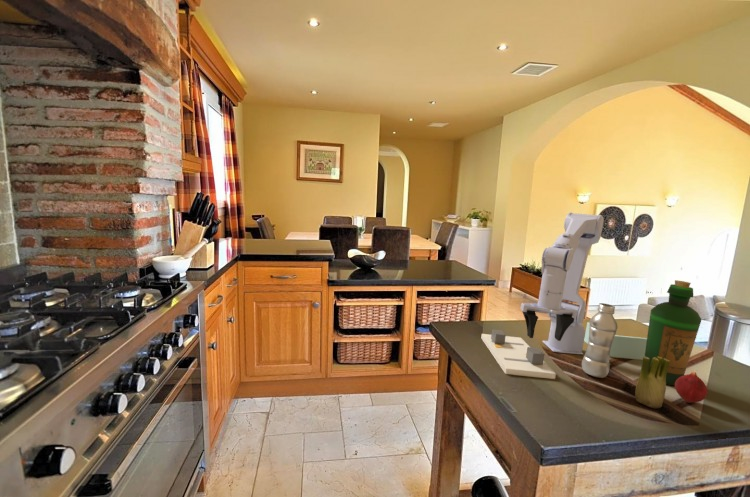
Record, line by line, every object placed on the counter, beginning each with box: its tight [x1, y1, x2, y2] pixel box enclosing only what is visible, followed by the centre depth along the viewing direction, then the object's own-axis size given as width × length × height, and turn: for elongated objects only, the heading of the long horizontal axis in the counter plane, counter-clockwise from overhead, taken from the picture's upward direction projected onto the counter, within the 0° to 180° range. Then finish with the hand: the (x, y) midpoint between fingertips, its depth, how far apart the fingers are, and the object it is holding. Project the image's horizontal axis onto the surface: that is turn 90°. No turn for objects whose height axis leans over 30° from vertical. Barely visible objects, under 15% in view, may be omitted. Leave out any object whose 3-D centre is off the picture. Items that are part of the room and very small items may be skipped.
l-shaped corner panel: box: [584, 321, 647, 361], centre depth 114 cm, size 12×12×8 cm
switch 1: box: [490, 328, 507, 344], centre depth 107 cm, size 3×4×3 cm
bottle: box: [645, 280, 702, 386], centre depth 94 cm, size 11×11×28 cm
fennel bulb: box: [634, 356, 670, 410], centre depth 81 cm, size 6×5×12 cm
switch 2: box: [526, 346, 545, 365], centre depth 95 cm, size 3×4×3 cm
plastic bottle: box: [581, 303, 619, 379], centre depth 93 cm, size 6×7×20 cm
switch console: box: [480, 333, 557, 380], centre depth 102 cm, size 13×24×2 cm, turn 178°
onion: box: [674, 370, 708, 404], centre depth 83 cm, size 6×6×8 cm
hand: (543, 338), depth 95 cm, fingers open, 7 cm apart
